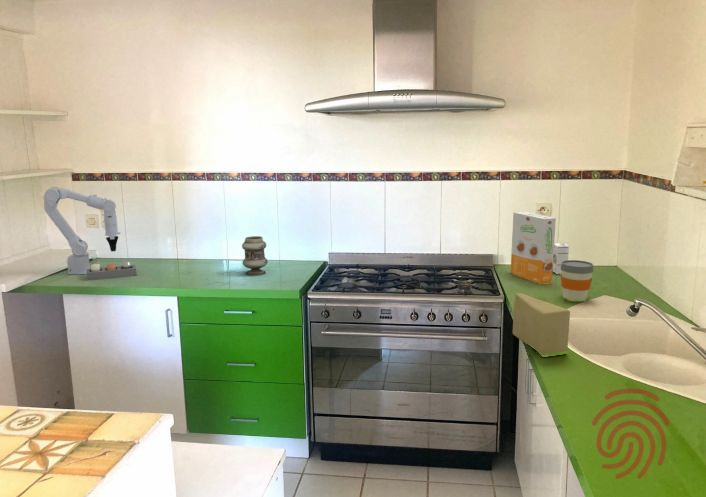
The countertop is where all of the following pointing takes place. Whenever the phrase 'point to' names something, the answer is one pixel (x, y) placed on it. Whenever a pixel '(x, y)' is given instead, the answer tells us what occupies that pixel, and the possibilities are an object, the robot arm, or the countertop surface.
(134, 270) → the button panel
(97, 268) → the ivory plunger
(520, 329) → the cheese
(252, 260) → the apothecary jar
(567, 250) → the syrup box
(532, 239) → the cereal box
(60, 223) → the robot arm
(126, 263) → the steel plunger
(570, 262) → the reusable coffee cup
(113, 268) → the brick-red plunger
